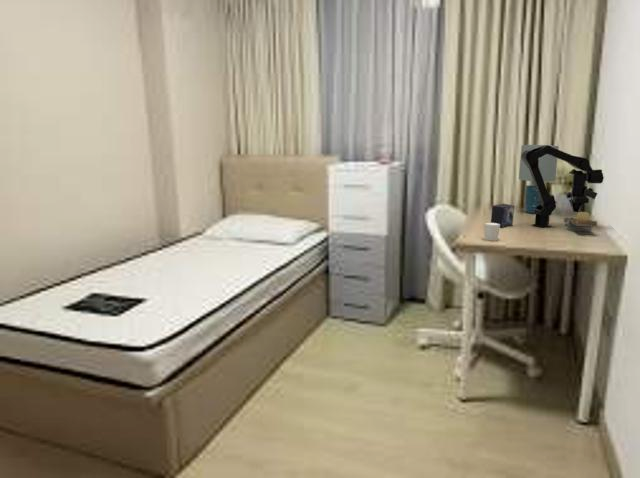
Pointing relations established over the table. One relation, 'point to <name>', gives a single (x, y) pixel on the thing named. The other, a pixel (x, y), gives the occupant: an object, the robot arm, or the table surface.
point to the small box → (502, 214)
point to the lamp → (548, 174)
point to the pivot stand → (578, 228)
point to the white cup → (491, 231)
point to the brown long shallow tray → (581, 222)
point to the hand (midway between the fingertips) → (575, 214)
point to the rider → (581, 216)
